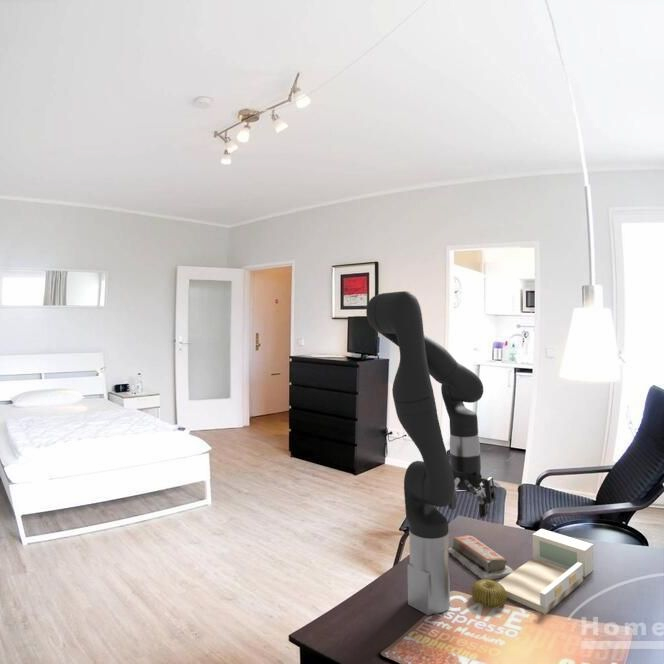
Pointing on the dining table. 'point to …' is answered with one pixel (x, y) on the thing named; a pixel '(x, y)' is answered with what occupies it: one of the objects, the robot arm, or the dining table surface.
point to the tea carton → (562, 550)
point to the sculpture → (489, 593)
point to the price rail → (561, 584)
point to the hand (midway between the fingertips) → (467, 513)
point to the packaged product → (479, 558)
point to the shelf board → (534, 584)
